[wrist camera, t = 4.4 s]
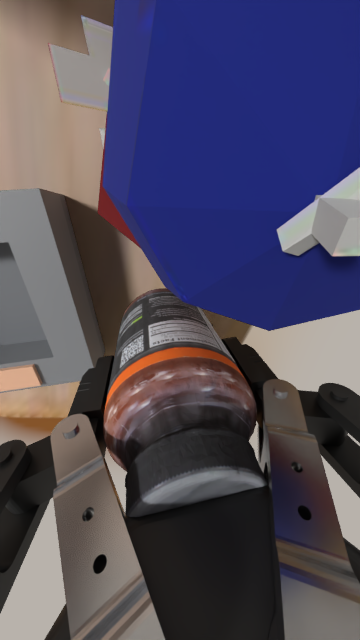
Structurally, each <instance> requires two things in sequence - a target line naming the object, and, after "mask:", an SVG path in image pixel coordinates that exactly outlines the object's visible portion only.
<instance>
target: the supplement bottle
mask: <svg viewBox="0 0 360 640" xmlns="http://www.w3.org/2000/svg"><path fill="white" fill-rule="evenodd" d="M256 419H257V409H256V402H255V399H254V396H253V393H252V390H251V388H250V387H249V385H248V383H247V381H246V380H245V378H244V376H243V375H242V373H241V372H240V370H239V368H238V366H237V364H236V363H235V361H234V359H233V358H232V356H231V355H230V353H229V352H228V350H227V349H226V347H225V345H224V344H223V342H222V341H221V339H220V338H219V336H218V334H217V333H216V331H215V330H214V328H213V325H211V323H210V322H209V320H208V319H207V317H206V315H205V314H204V312H203V311H202V310H201V308H199V307H196V306H193V305H190V304H187V303H184V302H183V301H181V300H180V299H179V298H178V297H177V296H176V295H174V294H173V293H172V292H171V291H170V290H168V289H155V290H151V291H148V292H146V293H144V294H142V295H141V296H139V297H137V298H136V299H135V300H134V301H133V302H132V303H131V304H130V305H129V306H128V308H127V309H126V311H125V313H124V315H123V318H122V321H121V324H120V330H119V335H118V341H117V346H116V351H115V357H114V362H113V368H112V373H111V378H110V384H109V388H108V394H107V401H106V406H105V412H104V424H103V434H104V439H105V443H106V446H107V449H108V451H109V453H110V455H111V457H112V458H113V460H114V461H115V462H116V463H117V464H118V465H119V466H121V467H122V468H123V469H124V470H125V471H127V475H126V478H125V487H126V513H125V516H129V517H141V516H145V515H150V514H154V513H158V512H162V511H166V510H170V509H174V508H179V507H183V506H187V505H190V504H194V503H198V502H202V501H206V500H211V499H215V498H219V497H223V496H227V495H231V494H235V493H239V492H242V491H245V490H250V489H254V488H259V487H264V486H266V485H268V483H267V481H266V479H265V477H264V474H263V471H262V469H261V467H260V466H259V464H258V461H257V459H256V457H255V452H254V449H253V448H252V446H251V445H250V443H249V439H250V437H251V435H252V434H253V432H254V428H255V426H256Z"/></svg>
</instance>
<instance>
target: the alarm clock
mask: <svg viewBox="0 0 360 640" xmlns="http://www.w3.org/2000/svg"><path fill="white" fill-rule="evenodd" d="M81 19H82V23H83V28H84V33H85V37H86V42H87V47H88V52H89V55H86V54H82V53H79V52H76V51H73V50H69V49H66V48H63V47H60V46H56V45H53V44H50V43H48V46H49V50H50V55H51V59H52V63H53V68H54V72H55V77H56V81H57V85H58V90H59V94H60V99H61V102H63V103H68V104H72V105H77V106H82V107H87V108H92V109H97V110H102V111H106V112H107V117H106V128H99V129H100V134H101V140H102V145H103V160H102V171H101V182H100V193H99V203H98V214H99V215H101V216H102V217H103V218H104V219H105V220H107V221H108V222H109V223H110V224H112V225H113V226H114V227H115V228H117V229H118V230H119V231H120V232H121V233H123V234H124V235H125V236H126V237H128V238H129V239H130V240H131V241H133V242H134V243H135V244H136V245H137V246H139V247H140V248H141V249H142V250H143V252H144V254H145V255H146V257H147V258H148V260H149V262H150V263H151V265H152V267H153V268H154V270H155V271H156V273H157V275H158V276H159V278H160V279H161V281H162V283H163V284H164V286H165V287H166V288H167V289H168V290H170V291H171V292H172V293H173V294H174V295H176V296H177V297H178V298H179V299H180V300H181V301H183V302H184V303H187V304H190V305H193V306H196V307H199V308H202V309H205V310H208V311H211V312H214V313H217V314H220V315H223V316H226V317H229V318H232V319H235V320H238V321H241V322H244V323H247V324H250V325H253V326H256V327H259V328H262V329H266V330H268V331H271V330H274V329H279V328H283V327H287V326H291V325H296V324H300V323H304V322H308V321H313V320H317V319H322V318H325V317H330V316H334V315H339V314H343V313H347V312H351V311H356V310H360V0H115V6H114V21H113V27H111V26H109V25H106V24H103V23H101V22H98V21H96V20H93V19H90V18H88V17H85V16H82V15H81Z"/></svg>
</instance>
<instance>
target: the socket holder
mask: <svg viewBox="0 0 360 640" xmlns="http://www.w3.org/2000/svg"><path fill="white" fill-rule="evenodd" d="M104 353H105V348H104V345H103V341H102V337H101V333H100V329H99V326H98V322H97V318H96V314H95V310H94V307H93V303H92V299H91V295H90V292H89V288H88V284H87V280H86V276H85V273H84V269H83V265H82V261H81V257H80V254H79V250H78V246H77V242H76V238H75V235H74V231H73V227H72V223H71V220H70V216H69V212H68V208H67V204H66V201H65V197H64V195H61V194H58V193H54V192H50V191H47V190H43V189H39V188H37V189H20V190H2V191H0V393H3V392H10V391H16V390H23V389H30V388H36V387H43V386H50V385H56V384H63V383H70V382H77V381H81V379H82V376H83V375H84V374H85V373H86V372H87V370H88V369H90V368H95V367H96V363H97V360H98V358H99V357H103V356H104Z"/></svg>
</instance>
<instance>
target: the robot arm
mask: <svg viewBox="0 0 360 640" xmlns="http://www.w3.org/2000/svg"><path fill="white" fill-rule="evenodd" d="M222 342H223V344H224V345H225V347H226V349H227V350H228V352H229V353H230V355H231V356H232V358H233V359H234V361H235V363H236V364H237V366H238V368H239V370H240V372H241V373H242V375H243V376H244V378H245V380H246V381H247V383H248V385H249V387H250V388H251V390H252V393H253V396H254V399H255V402H256V409H257V419H256V421H257V422H258V464H259V466H260V467H261V469H262V471H263V474H264V477H265V479H266V481H267V483H268V485H266V486H264V487H259V488H254V489H250V490H245V491H242V492H239V493H235V494H231V495H227V496H223V497H219V498H215V499H211V500H206V501H202V502H198V503H194V504H190V505H187V506H183V507H179V508H174V509H170V510H166V511H162V512H158V513H154V514H150V515H145V516H141V517H129V516H125V512H124V510H123V507H122V505H121V502H120V499H119V496H118V494H117V491H116V488H115V485H114V483H113V480H112V477H111V474H110V472H109V469H108V466H107V463H106V461H105V458H104V457H105V451H106V447H107V446H106V443H105V439H104V434H103V424H104V412H105V406H106V401H107V394H108V388H109V384H110V378H111V373H112V368H113V362H114V356H113V355H112V356H105V357H99V358H98V360H97V363H96V367H95V368H90V369H88V370H87V372H86V373H85V374H84V375H83V376H82V379H81V381H80V385H79V387H78V390H77V392H76V395H75V398H74V401H73V403H72V406H71V409H70V412H69V414H68V417H66V418H65V419H63V420H62V421H61V422H60V423H58V424H57V425H56V426H55V428H54V429H53V431H52V433H51V435H50V436H48V437H46V438H44V439H42V440H40V441H37V442H35V443H33V444H31V445H28V446H26V444H25V443H24V442H23V441H21V440H12V441H8V442H6V443H4V444H2V445H1V446H0V613H1V611H2V608H3V606H4V604H5V601H6V599H7V597H8V595H9V592H10V590H11V588H12V586H13V583H14V581H15V579H16V576H17V574H18V572H19V570H20V567H21V565H22V563H23V560H24V558H25V556H26V554H27V551H28V549H29V547H30V544H31V542H32V540H33V538H34V535H35V532H36V531H37V528H38V526H39V524H40V521H41V519H42V517H43V515H44V512H45V510H46V508H47V505H48V503H49V501H50V499H51V498H52V497H53V499H54V507H55V516H56V524H57V532H58V540H59V548H60V556H61V564H62V572H63V580H64V589H65V595H66V604H65V606H64V608H63V610H62V611H61V613H60V614H59V616H58V618H57V620H56V621H55V623H54V625H53V626H52V628H51V630H50V631H49V633H48V635H47V636H46V638H45V640H360V550H358V549H357V548H356V547H355V546H353V545H352V544H351V543H350V542H348V541H347V540H346V539H345V538H343V536H342V532H341V529H340V525H339V522H338V518H337V514H336V510H335V506H334V503H333V499H332V495H331V492H330V488H329V484H328V480H327V477H326V473H325V469H324V466H323V462H322V458H321V455H322V456H323V457H324V459H325V460H326V461H327V462H328V463H329V464H330V465H331V466H332V467H333V469H334V470H335V471H336V472H337V473H338V474H339V475H340V476H341V478H342V479H343V480H344V481H345V482H346V483H347V484H348V485H349V486H350V487H351V489H352V490H353V491H354V492H355V493H356V494H357V495H358V497H359V498H360V446H359V445H357V444H356V443H355V442H354V441H353V440H352V439H351V438H350V437H349V436H348V435H347V434H348V433H349V434H350V435H351V436H353V437H354V438H355V439H356V440H357V441H358V442H359V443H360V396H359V395H357V394H356V393H355V392H353V391H352V390H350V389H349V388H347V387H345V386H342V385H339V384H335V383H326V384H322V385H321V386H320V387H319V390H318V392H312V391H300V390H297V389H296V388H295V387H294V386H293V385H292V384H290V383H289V382H287V381H284V380H280V379H278V378H277V377H276V376H275V374H274V373H273V372H272V371H271V369H270V368H269V367H268V366H267V364H266V363H265V362H264V361H263V360H262V358H261V357H260V356H259V355H258V353H257V352H256V351H255V350H254V349H253V348H252V347H250V346H248V345H247V344H244V345H241V343H240V342H239V341H238V339H237V338H236V337H231V338H225V339H222Z"/></svg>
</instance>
